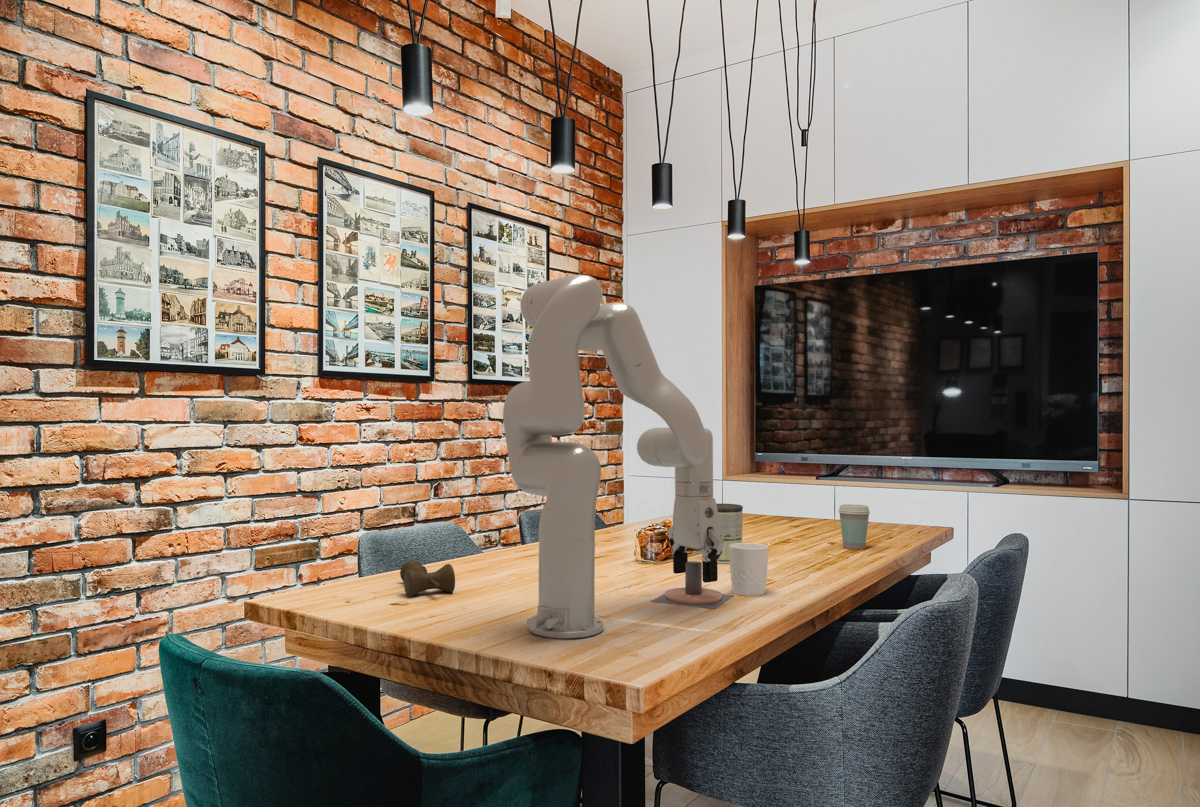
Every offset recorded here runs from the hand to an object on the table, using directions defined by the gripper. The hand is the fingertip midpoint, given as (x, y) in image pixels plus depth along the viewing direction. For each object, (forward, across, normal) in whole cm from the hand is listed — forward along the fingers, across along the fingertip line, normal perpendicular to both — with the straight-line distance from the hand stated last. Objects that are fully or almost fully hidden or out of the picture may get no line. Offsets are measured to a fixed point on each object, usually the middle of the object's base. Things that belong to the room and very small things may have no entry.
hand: (694, 577), depth 154 cm
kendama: (+5, +35, +44) cm, 56 cm away
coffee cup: (+6, +32, -79) cm, 86 cm away
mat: (+5, 0, 0) cm, 5 cm away
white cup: (+5, -1, -13) cm, 14 cm away
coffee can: (+6, +34, -33) cm, 48 cm away
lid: (+4, 0, 0) cm, 4 cm away
